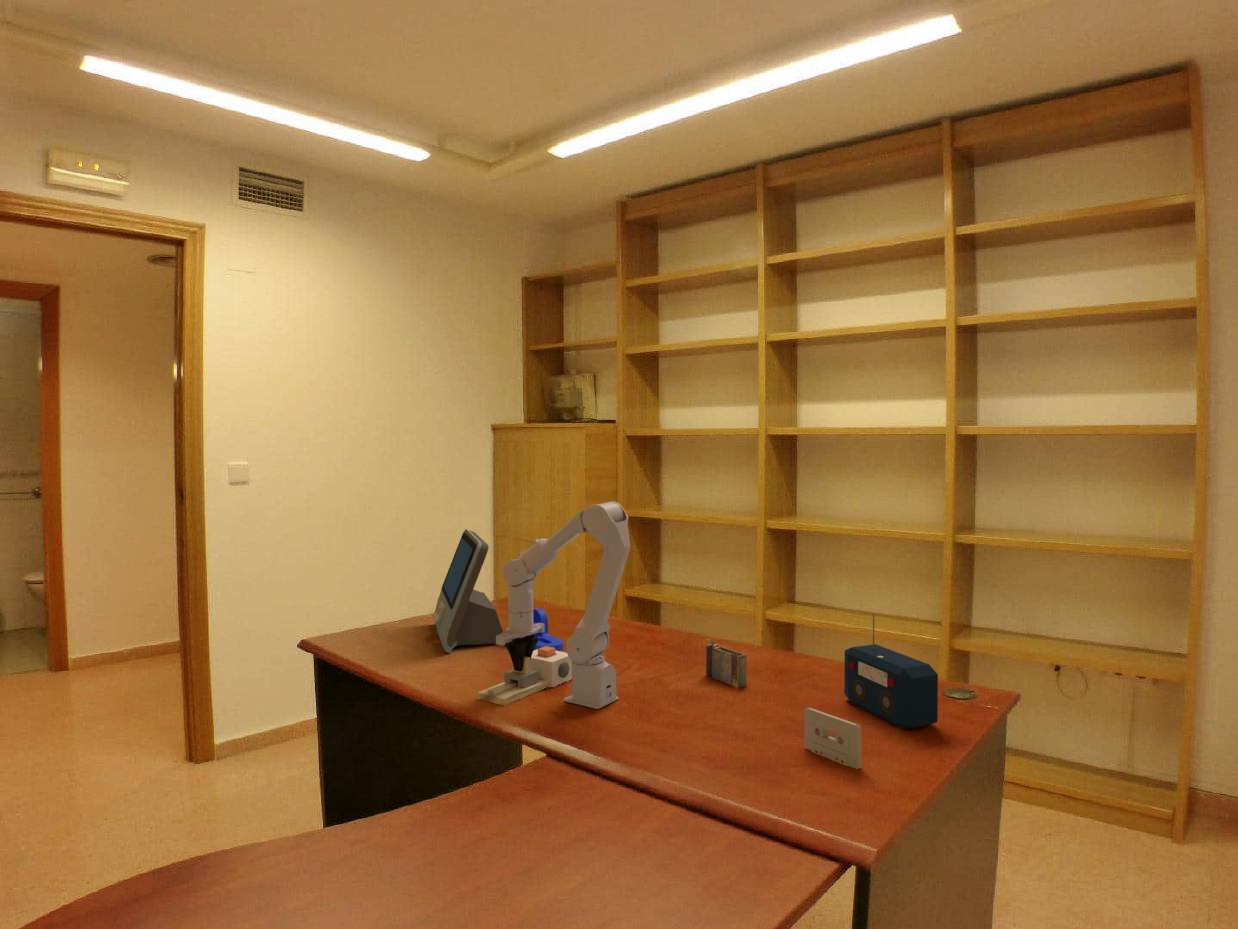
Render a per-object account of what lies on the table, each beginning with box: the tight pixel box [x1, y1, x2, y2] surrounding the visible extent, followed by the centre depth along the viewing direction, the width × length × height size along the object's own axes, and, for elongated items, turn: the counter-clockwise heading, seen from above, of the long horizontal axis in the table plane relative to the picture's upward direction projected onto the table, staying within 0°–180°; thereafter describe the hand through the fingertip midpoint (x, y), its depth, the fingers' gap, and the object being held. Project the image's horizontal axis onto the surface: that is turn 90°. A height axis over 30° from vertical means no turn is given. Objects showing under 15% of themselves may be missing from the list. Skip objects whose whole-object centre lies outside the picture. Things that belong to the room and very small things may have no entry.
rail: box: [488, 680, 518, 696], centre depth 177 cm, size 2×15×1 cm, turn 145°
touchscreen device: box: [432, 528, 504, 654], centre depth 227 cm, size 35×20×30 cm, turn 18°
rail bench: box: [477, 679, 550, 706], centre depth 177 cm, size 8×15×2 cm, turn 145°
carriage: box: [503, 656, 539, 688], centre depth 179 cm, size 6×5×6 cm
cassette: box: [803, 706, 862, 770], centre depth 140 cm, size 12×2×8 cm, turn 37°
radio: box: [843, 612, 939, 730], centre depth 162 cm, size 21×9×20 cm, turn 21°
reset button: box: [538, 646, 556, 658], centre depth 186 cm, size 3×3×2 cm
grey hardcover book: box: [704, 637, 747, 688], centre depth 185 cm, size 11×3×10 cm, turn 35°
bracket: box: [533, 607, 565, 651], centre depth 217 cm, size 18×8×9 cm, turn 37°
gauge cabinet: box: [530, 649, 572, 688], centre depth 186 cm, size 10×8×6 cm
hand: (521, 669), depth 179 cm, fingers closed on carriage
